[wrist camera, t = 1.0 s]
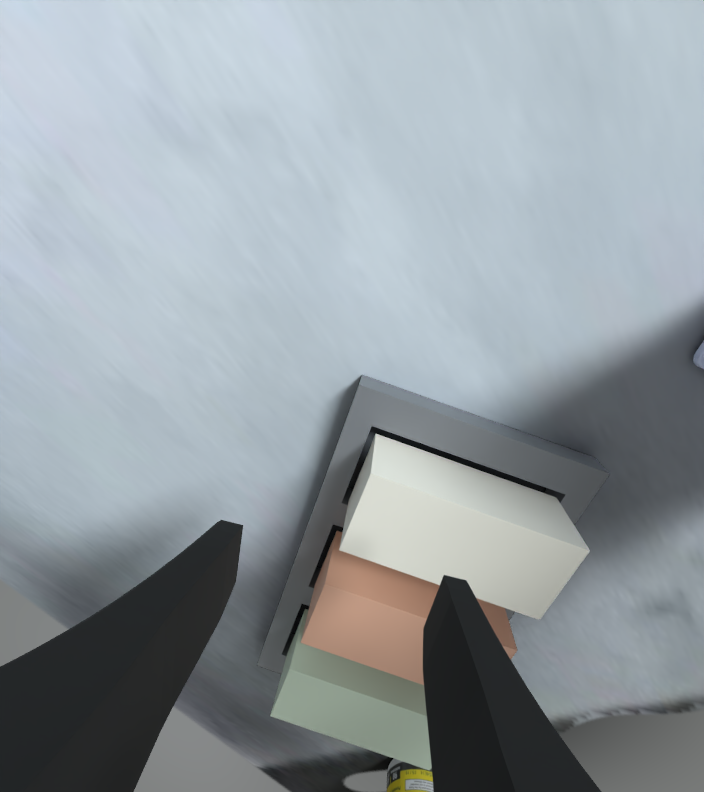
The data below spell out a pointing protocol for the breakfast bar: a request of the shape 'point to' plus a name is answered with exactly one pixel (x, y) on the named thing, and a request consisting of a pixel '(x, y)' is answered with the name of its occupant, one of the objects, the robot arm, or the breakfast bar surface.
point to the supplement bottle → (408, 778)
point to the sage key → (353, 703)
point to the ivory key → (461, 527)
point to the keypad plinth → (441, 429)
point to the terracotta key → (379, 614)
